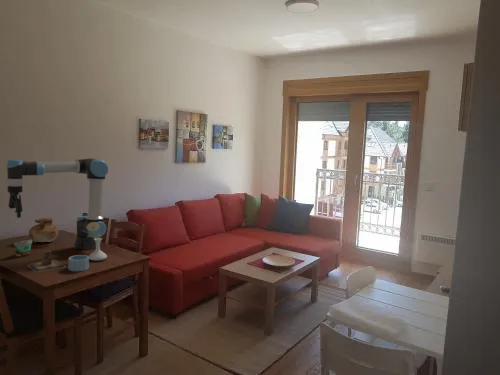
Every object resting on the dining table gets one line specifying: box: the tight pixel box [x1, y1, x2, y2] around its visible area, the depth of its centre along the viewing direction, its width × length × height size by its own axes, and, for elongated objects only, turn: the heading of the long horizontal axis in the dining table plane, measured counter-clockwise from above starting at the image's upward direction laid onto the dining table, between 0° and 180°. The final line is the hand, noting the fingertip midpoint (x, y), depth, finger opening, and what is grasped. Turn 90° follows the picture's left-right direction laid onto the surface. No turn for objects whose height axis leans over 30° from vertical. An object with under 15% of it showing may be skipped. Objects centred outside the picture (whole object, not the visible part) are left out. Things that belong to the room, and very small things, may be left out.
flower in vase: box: [86, 222, 108, 262], centre depth 244 cm, size 13×11×25 cm
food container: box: [13, 237, 33, 258], centre depth 245 cm, size 12×6×10 cm, turn 168°
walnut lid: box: [29, 249, 64, 272], centre depth 226 cm, size 14×14×9 cm
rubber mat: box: [26, 260, 67, 273], centre depth 226 cm, size 17×17×1 cm
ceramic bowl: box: [67, 254, 90, 272], centre depth 225 cm, size 11×11×7 cm
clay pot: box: [28, 217, 59, 243], centre depth 279 cm, size 19×19×20 cm
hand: (15, 220), depth 224 cm, fingers open, 13 cm apart
